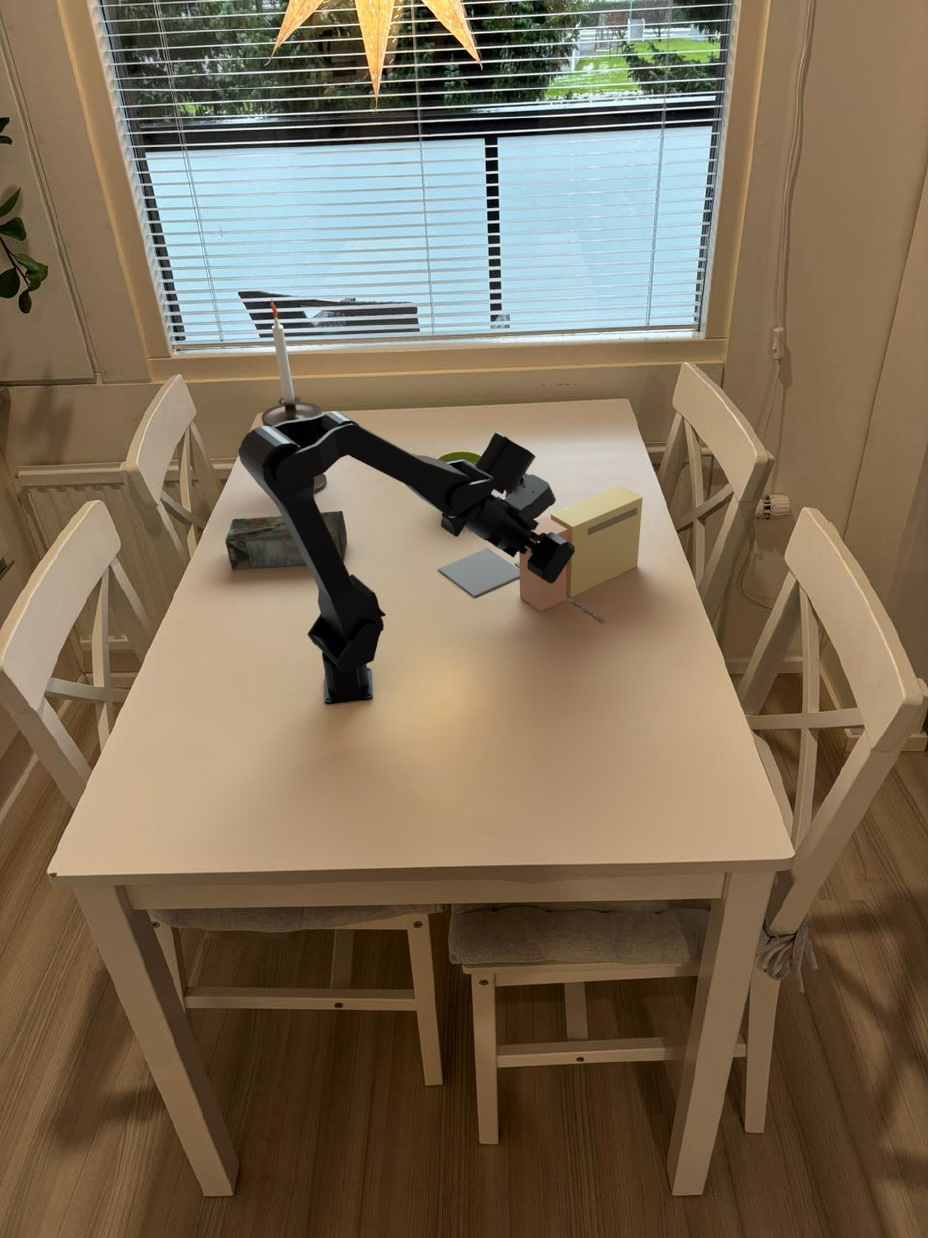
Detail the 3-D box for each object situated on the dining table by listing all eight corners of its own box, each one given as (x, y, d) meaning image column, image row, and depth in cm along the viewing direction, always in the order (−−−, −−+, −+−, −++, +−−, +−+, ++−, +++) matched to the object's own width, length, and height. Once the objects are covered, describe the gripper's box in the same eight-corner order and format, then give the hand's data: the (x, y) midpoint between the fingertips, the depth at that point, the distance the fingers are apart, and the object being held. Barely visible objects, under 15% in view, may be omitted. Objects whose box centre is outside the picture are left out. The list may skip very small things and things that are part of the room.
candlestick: (268, 479, 179) (234, 296, 159) (322, 467, 183) (295, 286, 162) (283, 503, 171) (248, 313, 151) (339, 490, 175) (312, 302, 154)
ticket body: (571, 597, 142) (572, 527, 135) (549, 583, 146) (550, 513, 139) (637, 566, 149) (642, 497, 141) (615, 553, 152) (619, 485, 145)
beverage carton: (237, 547, 160) (230, 513, 156) (349, 540, 160) (344, 506, 156) (230, 572, 153) (222, 537, 149) (346, 565, 154) (341, 530, 150)
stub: (540, 611, 140) (540, 540, 132) (519, 597, 143) (518, 526, 136) (565, 600, 142) (567, 529, 135) (544, 585, 145) (545, 515, 138)
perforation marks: (601, 622, 137) (601, 621, 137) (514, 564, 151) (514, 563, 151) (604, 621, 137) (604, 620, 137) (517, 562, 151) (517, 561, 151)
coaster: (474, 597, 144) (474, 595, 144) (438, 570, 150) (438, 568, 150) (524, 574, 148) (524, 573, 148) (487, 549, 155) (487, 547, 155)
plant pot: (496, 511, 165) (495, 467, 160) (447, 523, 163) (444, 479, 158) (476, 489, 172) (474, 446, 167) (428, 500, 170) (425, 457, 165)
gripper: (565, 492, 121) (623, 537, 132) (480, 445, 133) (540, 490, 145) (518, 564, 122) (579, 602, 133) (439, 510, 134) (501, 550, 146)
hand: (550, 557), depth 139 cm, fingers closed on stub, 5 cm apart
